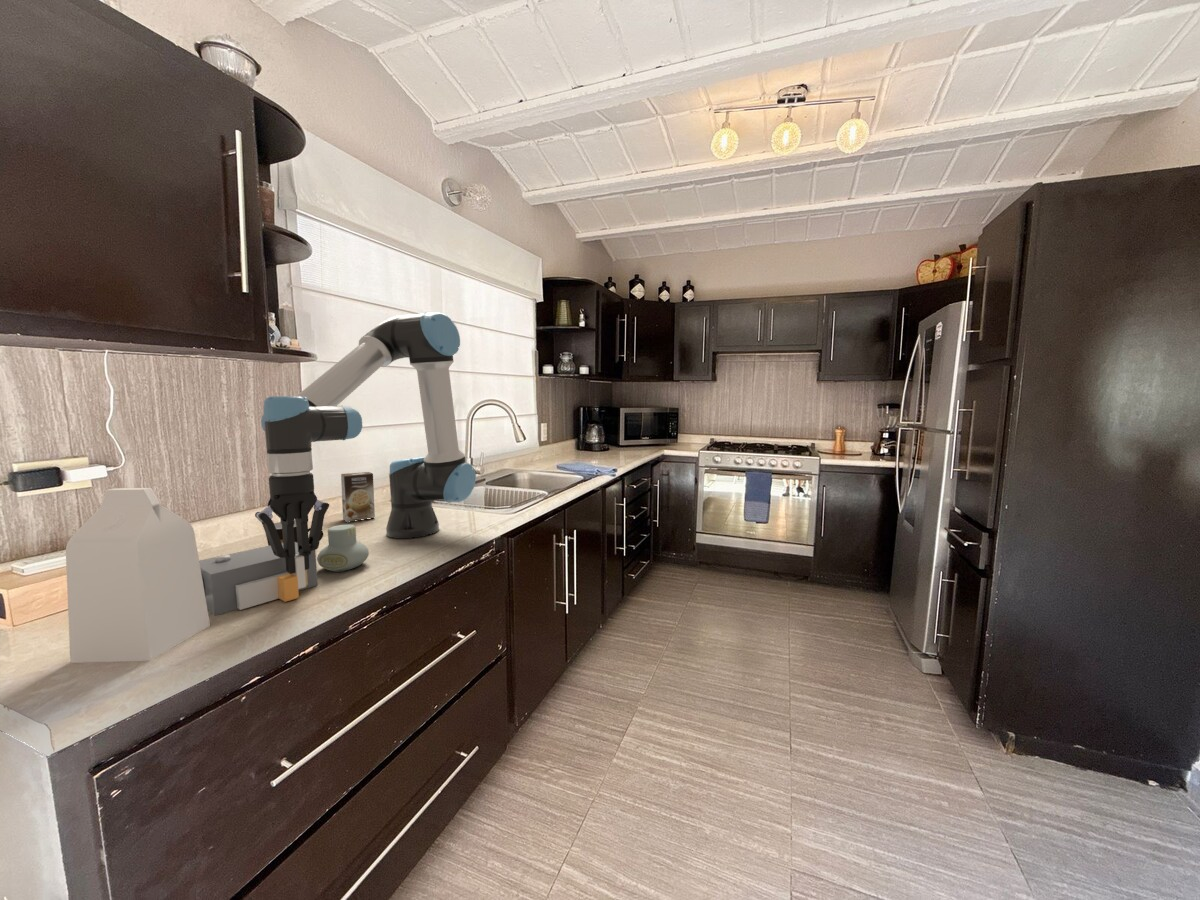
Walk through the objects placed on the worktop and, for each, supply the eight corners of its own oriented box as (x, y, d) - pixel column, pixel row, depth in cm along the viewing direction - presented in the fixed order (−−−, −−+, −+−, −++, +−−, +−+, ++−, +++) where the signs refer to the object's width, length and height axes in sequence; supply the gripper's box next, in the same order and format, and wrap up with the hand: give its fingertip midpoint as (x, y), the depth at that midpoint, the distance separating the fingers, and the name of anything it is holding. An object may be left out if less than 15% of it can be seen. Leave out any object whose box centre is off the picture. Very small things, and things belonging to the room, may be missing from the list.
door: (289, 592, 97) (288, 571, 97) (298, 597, 95) (297, 576, 94) (237, 608, 90) (235, 585, 89) (245, 613, 87) (243, 590, 87)
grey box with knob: (294, 574, 109) (291, 537, 108) (318, 585, 102) (315, 546, 101) (182, 603, 93) (178, 561, 92) (201, 619, 86) (197, 573, 85)
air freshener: (311, 573, 109) (308, 532, 108) (332, 561, 118) (330, 523, 117) (356, 573, 109) (354, 531, 108) (375, 561, 117) (372, 522, 116)
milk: (210, 625, 83) (196, 482, 81) (150, 660, 72) (133, 495, 70) (141, 627, 83) (125, 483, 81) (70, 662, 72) (49, 496, 69)
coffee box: (346, 523, 156) (343, 476, 155) (342, 519, 161) (339, 473, 160) (375, 518, 162) (373, 473, 161) (371, 515, 167) (368, 471, 166)
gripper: (317, 468, 101) (324, 573, 103) (245, 475, 91) (254, 593, 93) (333, 470, 97) (340, 580, 99) (260, 479, 86) (270, 601, 88)
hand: (299, 586), depth 96 cm, fingers closed
